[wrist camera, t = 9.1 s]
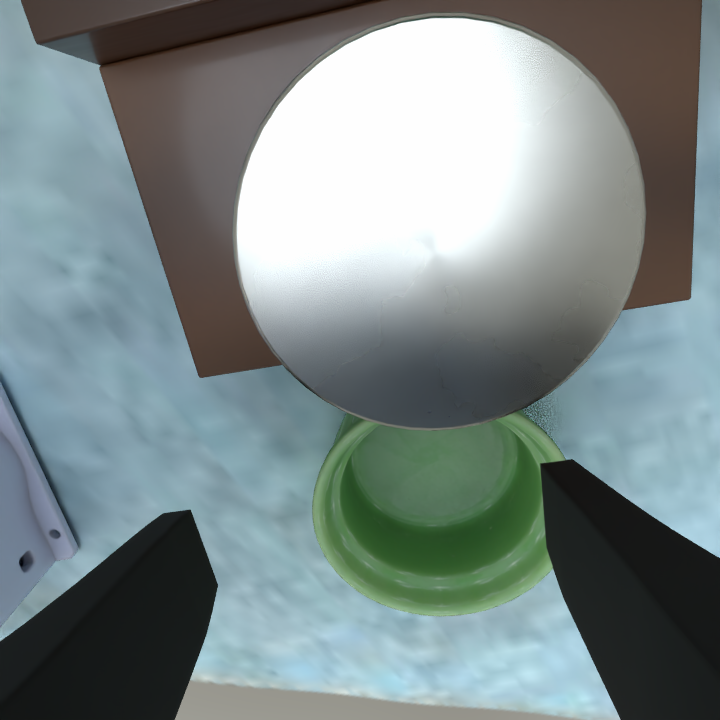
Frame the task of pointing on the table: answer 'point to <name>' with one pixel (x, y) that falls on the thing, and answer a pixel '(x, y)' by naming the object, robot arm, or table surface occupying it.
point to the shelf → (290, 57)
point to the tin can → (439, 221)
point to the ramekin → (436, 513)
